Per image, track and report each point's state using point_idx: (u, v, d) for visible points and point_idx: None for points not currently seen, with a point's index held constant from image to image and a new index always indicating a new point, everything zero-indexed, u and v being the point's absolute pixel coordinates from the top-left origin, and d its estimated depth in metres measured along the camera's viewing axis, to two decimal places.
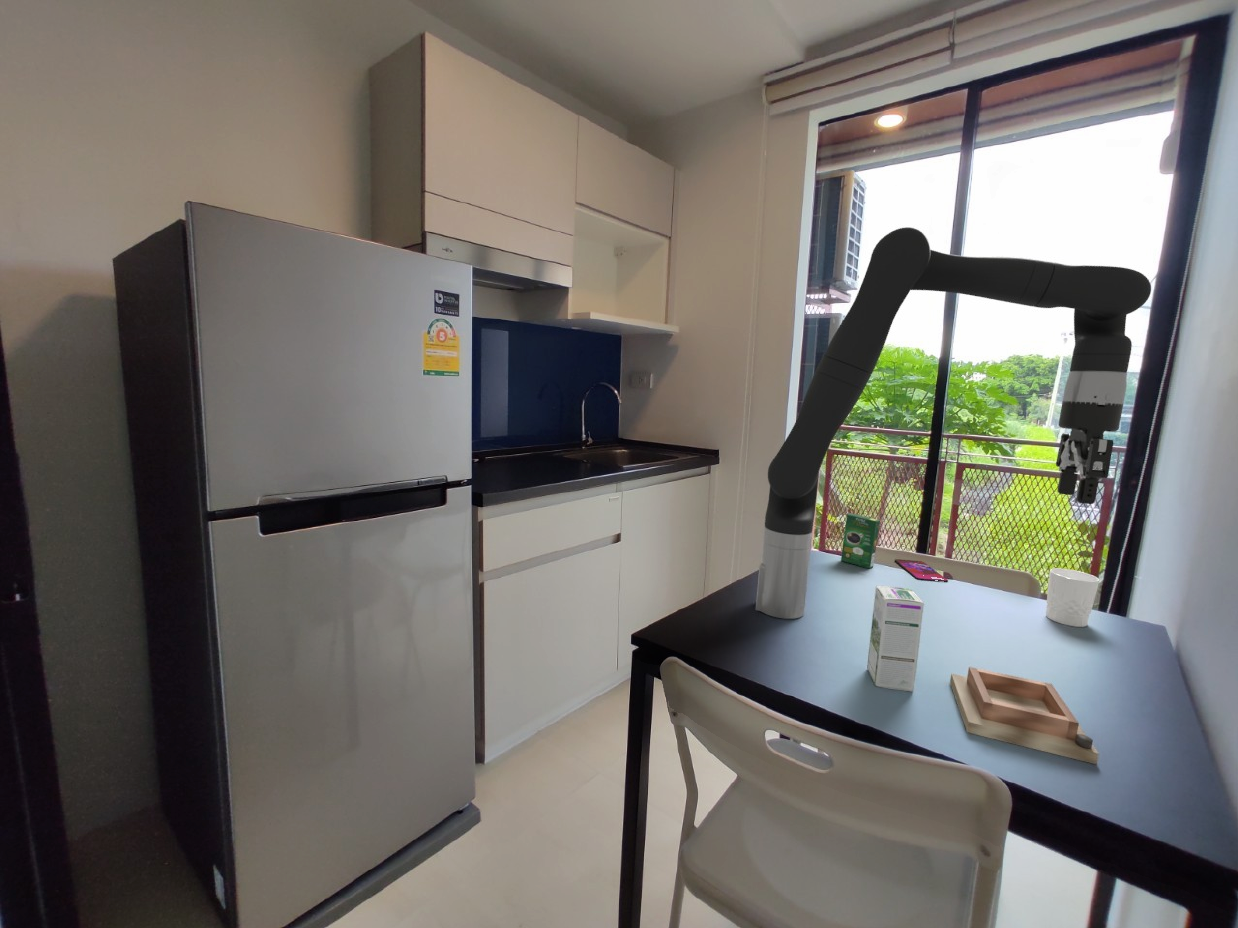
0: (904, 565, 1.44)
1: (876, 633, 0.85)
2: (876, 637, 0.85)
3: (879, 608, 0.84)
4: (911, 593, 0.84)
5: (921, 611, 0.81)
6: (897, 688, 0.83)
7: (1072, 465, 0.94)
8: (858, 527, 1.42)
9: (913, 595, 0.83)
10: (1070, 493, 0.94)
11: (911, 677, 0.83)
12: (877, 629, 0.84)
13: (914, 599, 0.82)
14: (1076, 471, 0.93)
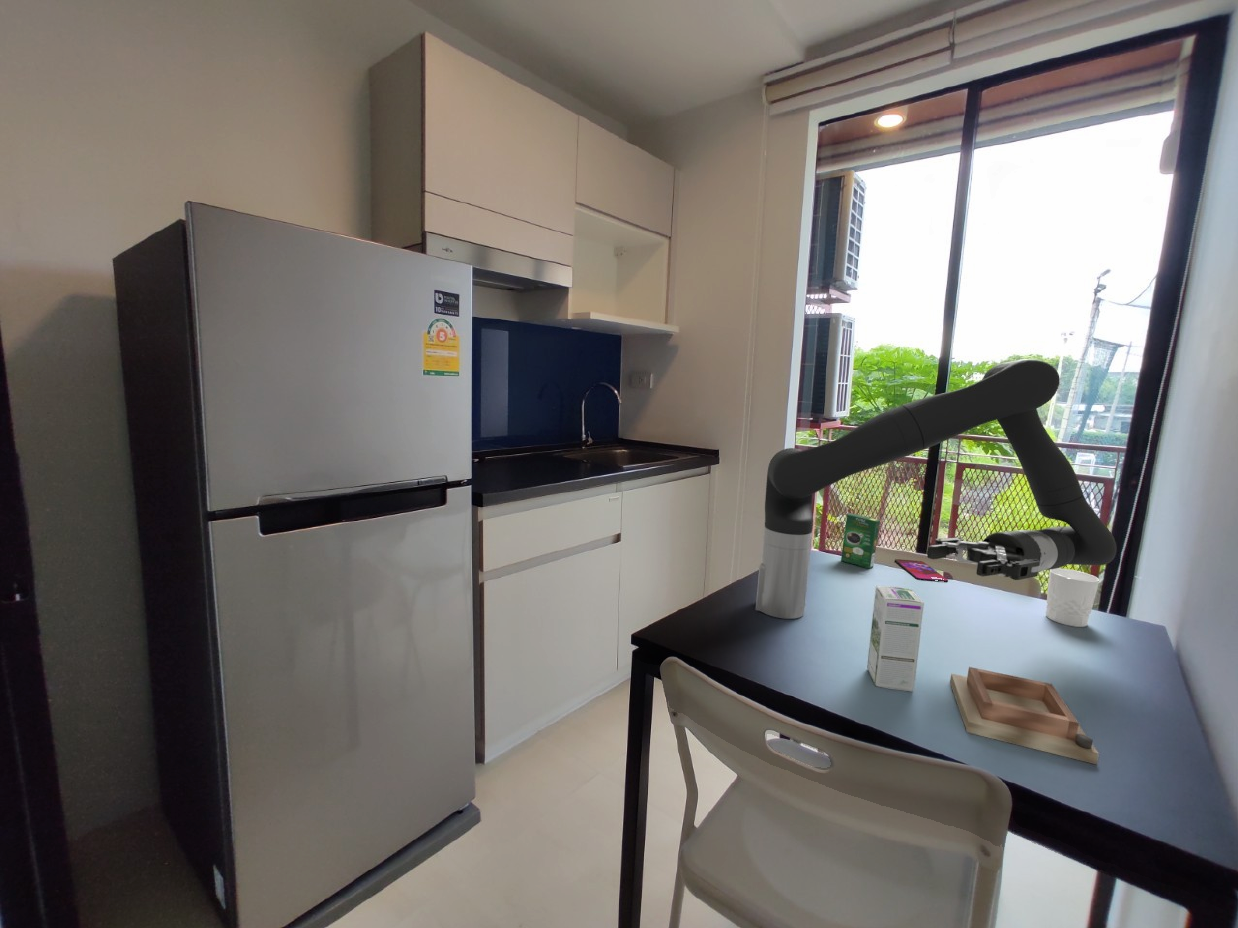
0: (904, 565, 1.44)
1: (876, 633, 0.85)
2: (876, 637, 0.85)
3: (879, 608, 0.84)
4: (911, 593, 0.84)
5: (921, 611, 0.81)
6: (897, 688, 0.83)
7: None
8: (858, 527, 1.42)
9: (913, 595, 0.83)
10: (932, 556, 0.91)
11: (911, 677, 0.83)
12: (877, 629, 0.84)
13: (914, 599, 0.82)
14: (946, 556, 0.93)
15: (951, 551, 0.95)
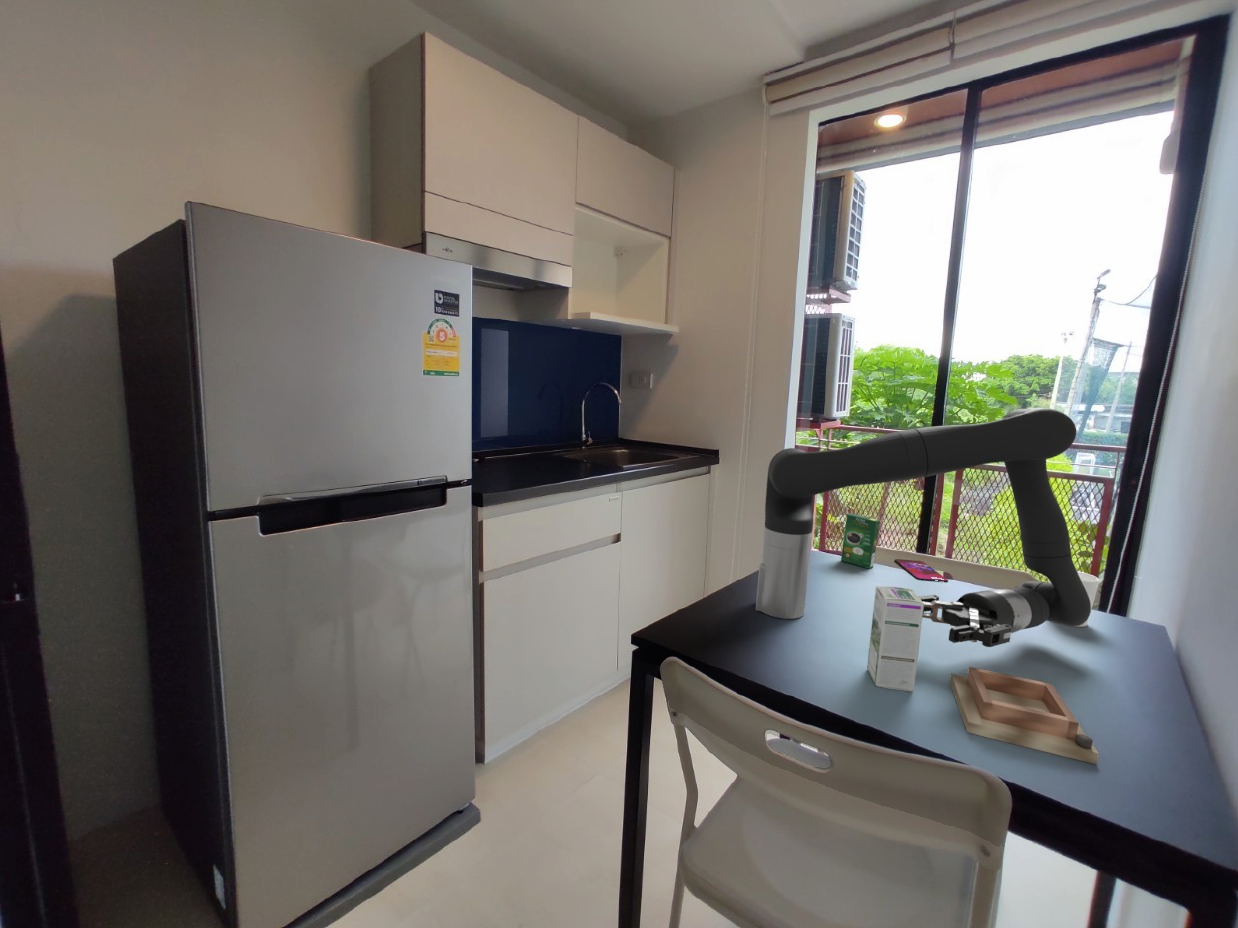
0: (904, 565, 1.44)
1: (876, 633, 0.85)
2: (876, 637, 0.85)
3: (879, 608, 0.84)
4: (911, 593, 0.84)
5: (921, 611, 0.81)
6: (897, 688, 0.83)
7: None
8: (858, 527, 1.42)
9: (913, 595, 0.83)
10: None
11: (911, 677, 0.83)
12: (877, 629, 0.84)
13: (914, 599, 0.82)
14: None
15: (926, 609, 0.96)
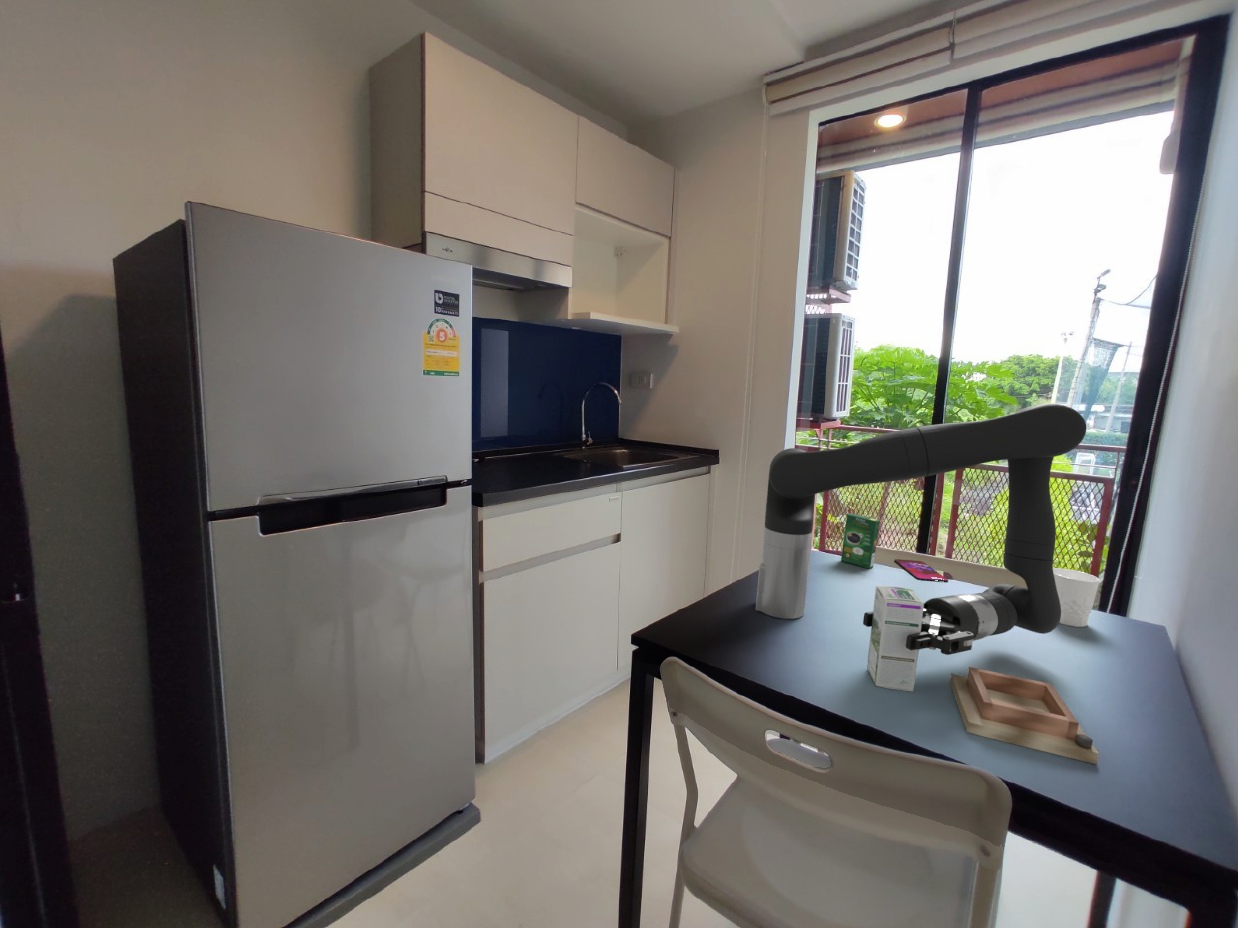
0: (904, 565, 1.44)
1: (876, 633, 0.85)
2: (876, 637, 0.85)
3: (879, 608, 0.84)
4: (911, 593, 0.84)
5: (921, 611, 0.81)
6: (897, 688, 0.83)
7: None
8: (858, 527, 1.42)
9: (913, 595, 0.83)
10: (867, 623, 0.88)
11: (911, 677, 0.83)
12: (877, 629, 0.84)
13: (914, 599, 0.82)
14: None
15: None
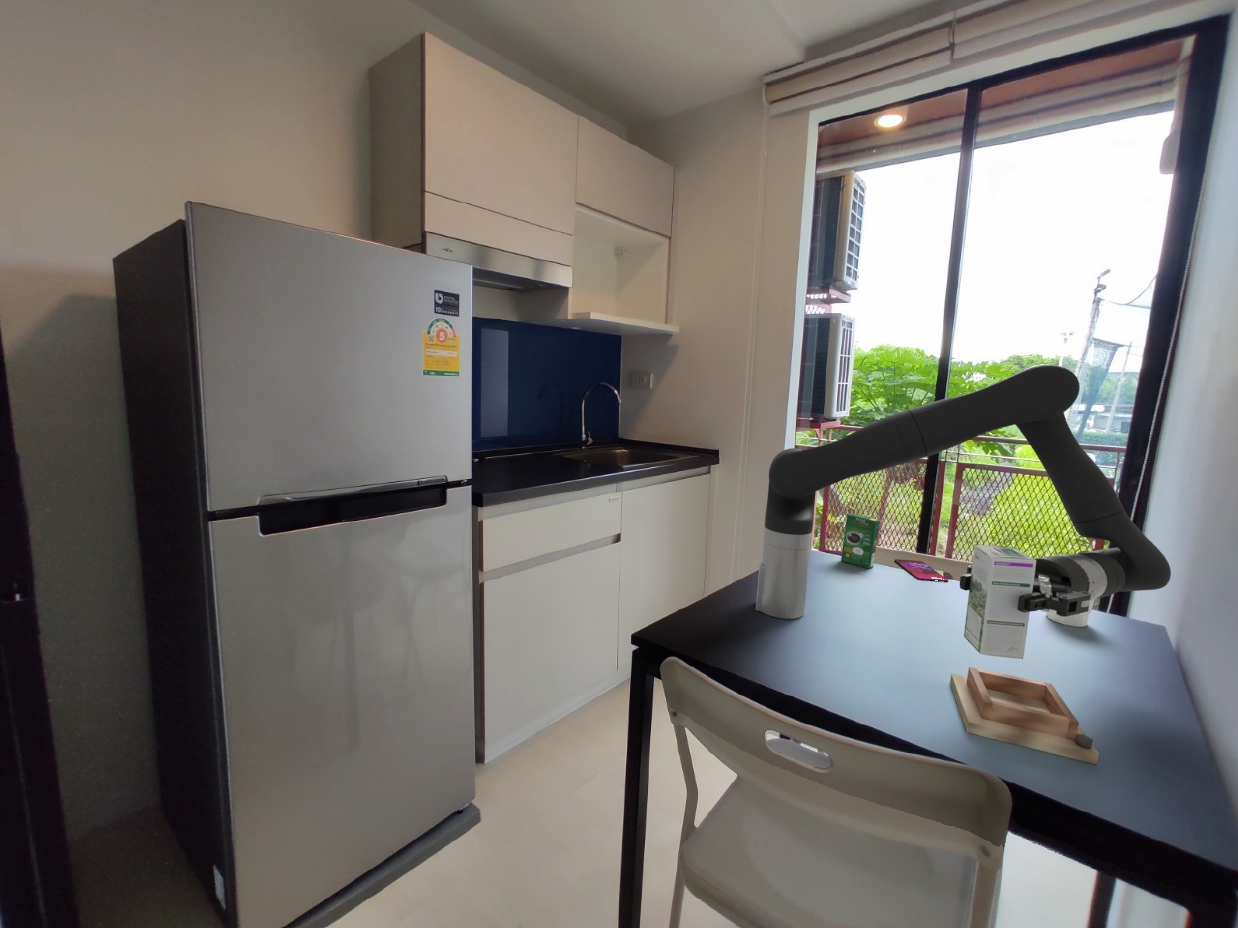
0: (904, 565, 1.44)
1: (979, 596, 0.77)
2: (979, 600, 0.77)
3: (983, 568, 0.76)
4: (1018, 551, 0.76)
5: (1033, 569, 0.73)
6: (1005, 656, 0.75)
7: None
8: (858, 527, 1.42)
9: (1020, 553, 0.75)
10: (965, 587, 0.80)
11: (1021, 643, 0.75)
12: (980, 591, 0.76)
13: (1024, 556, 0.74)
14: None
15: None
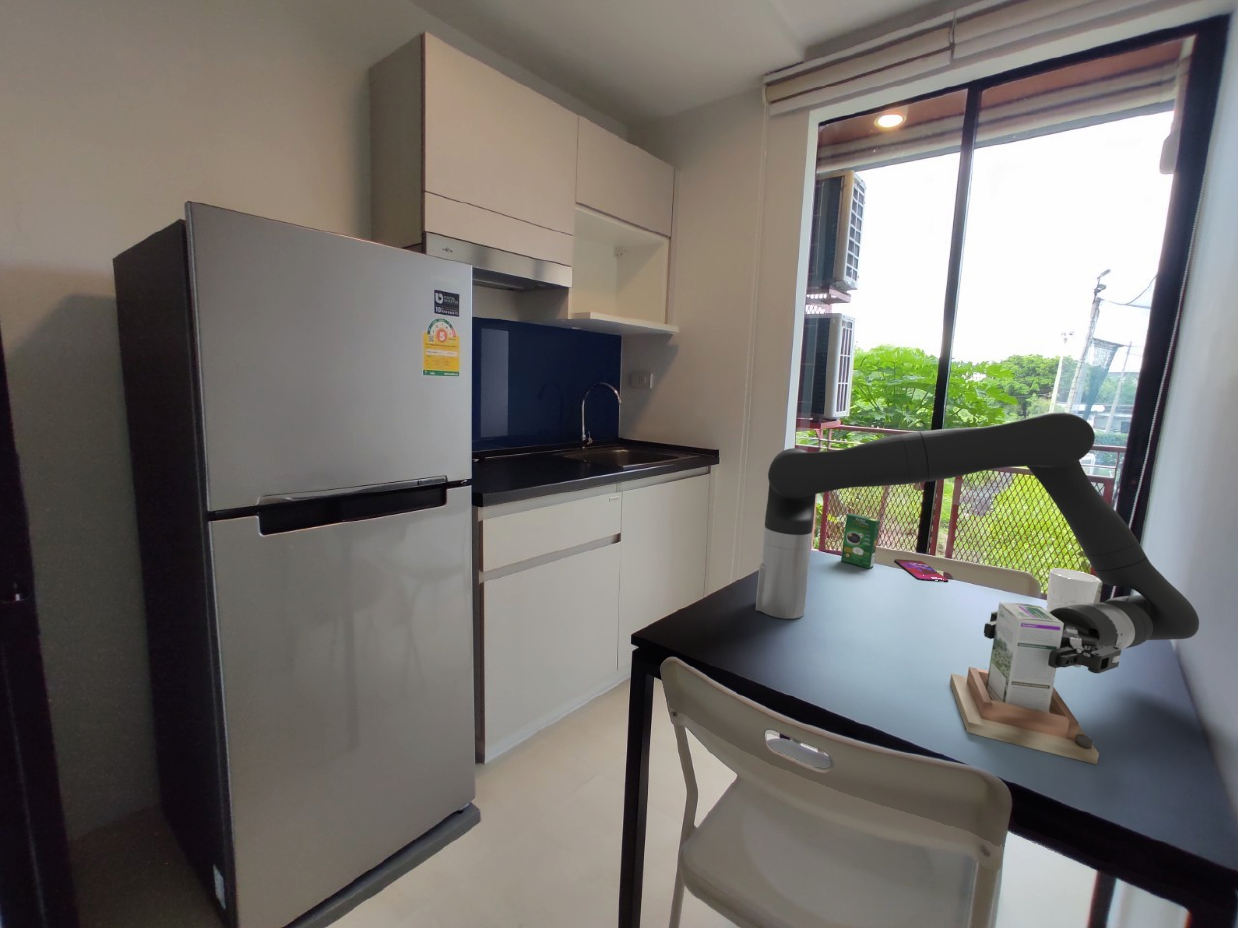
0: (904, 565, 1.44)
1: (1003, 655, 0.76)
2: (1003, 660, 0.76)
3: (1008, 628, 0.75)
4: (1044, 611, 0.75)
5: (1060, 632, 0.72)
6: None
7: None
8: (858, 527, 1.42)
9: (1047, 613, 0.75)
10: (990, 635, 0.79)
11: (1046, 705, 0.74)
12: (1005, 651, 0.75)
13: (1051, 618, 0.73)
14: None
15: None
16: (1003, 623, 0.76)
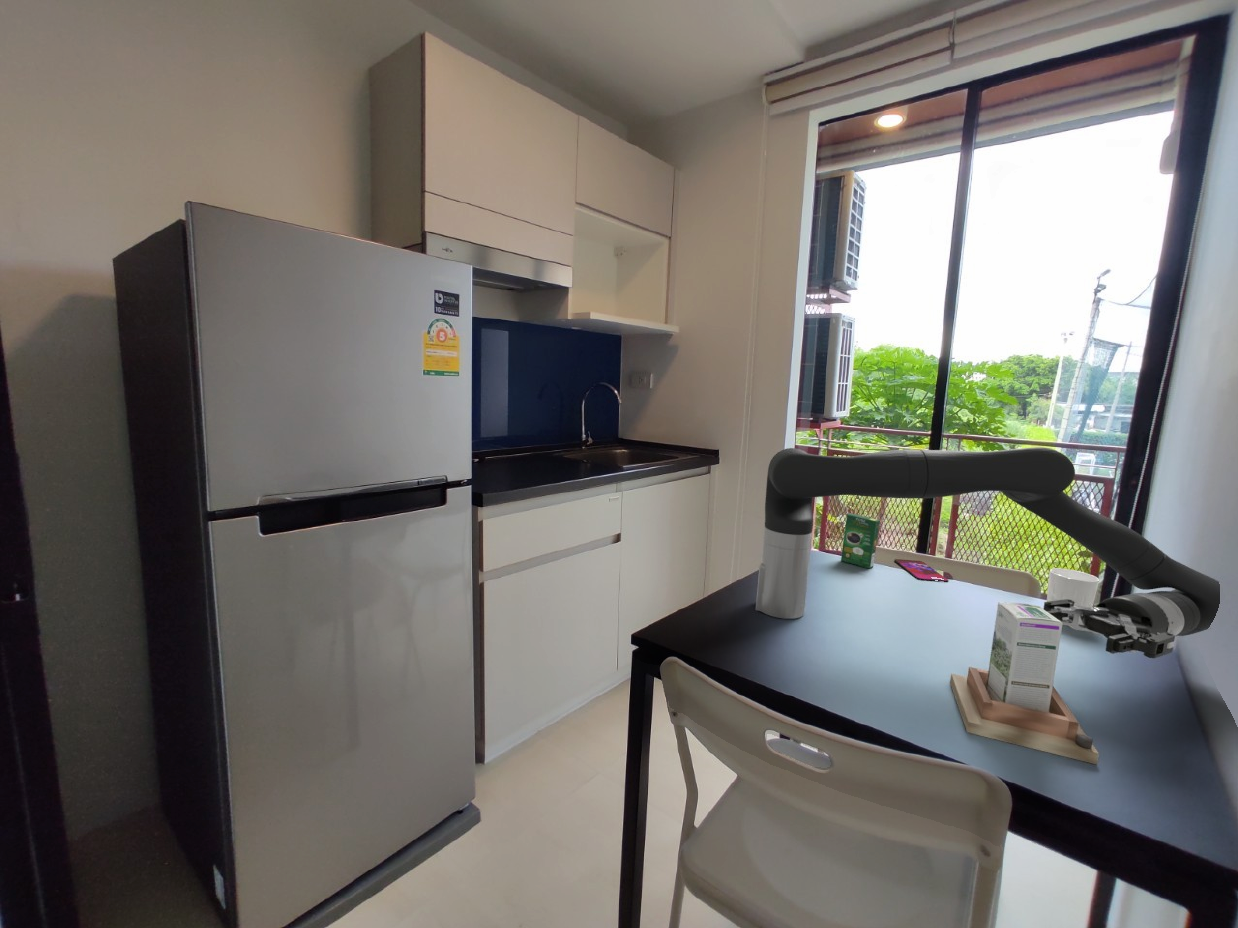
0: (904, 565, 1.44)
1: (1002, 655, 0.76)
2: (1003, 660, 0.76)
3: (1007, 628, 0.75)
4: (1042, 611, 0.75)
5: (1059, 632, 0.72)
6: None
7: None
8: (858, 527, 1.42)
9: (1046, 613, 0.75)
10: None
11: (1045, 704, 0.74)
12: (1004, 651, 0.76)
13: (1050, 618, 0.73)
14: None
15: None
16: (1002, 623, 0.77)
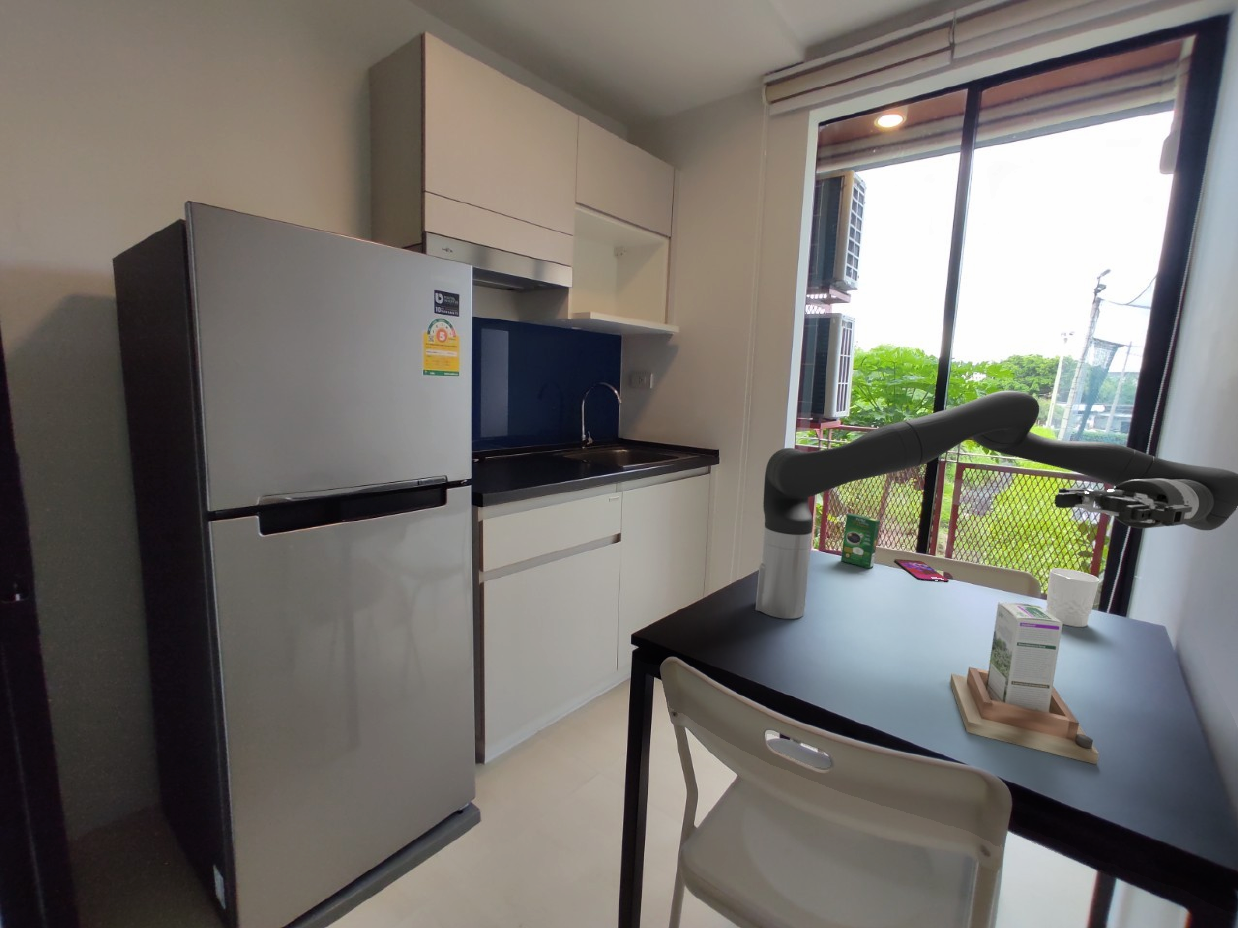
0: (904, 565, 1.43)
1: (1003, 655, 0.76)
2: (1003, 660, 0.76)
3: (1007, 628, 0.75)
4: (1042, 611, 0.75)
5: (1059, 632, 0.72)
6: None
7: None
8: (858, 527, 1.42)
9: (1046, 613, 0.75)
10: (1061, 504, 0.82)
11: (1045, 704, 0.74)
12: (1004, 651, 0.76)
13: (1050, 618, 0.73)
14: (1074, 505, 0.84)
15: None
16: (1002, 623, 0.77)
